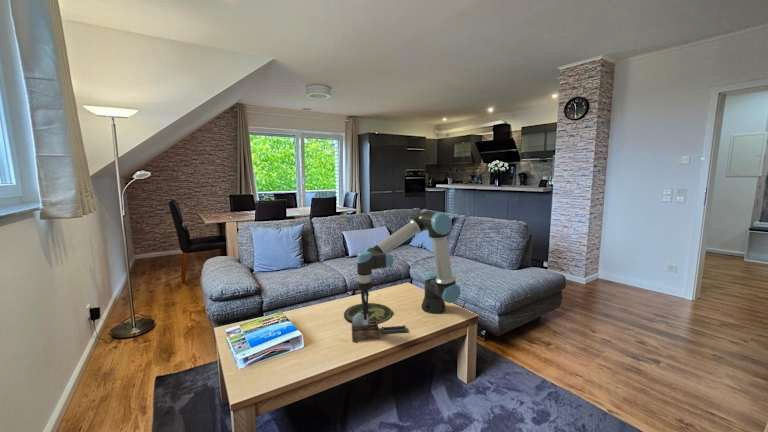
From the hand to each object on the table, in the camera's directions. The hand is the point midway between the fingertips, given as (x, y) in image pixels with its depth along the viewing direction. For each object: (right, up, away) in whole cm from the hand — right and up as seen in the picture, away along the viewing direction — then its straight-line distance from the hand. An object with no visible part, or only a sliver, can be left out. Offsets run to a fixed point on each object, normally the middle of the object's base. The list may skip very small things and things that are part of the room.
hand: (365, 323), depth 173 cm
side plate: (0, -3, 0) cm, 3 cm away
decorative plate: (+1, -4, +26) cm, 26 cm away
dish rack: (0, -7, +1) cm, 7 cm away
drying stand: (+16, -6, +4) cm, 17 cm away
